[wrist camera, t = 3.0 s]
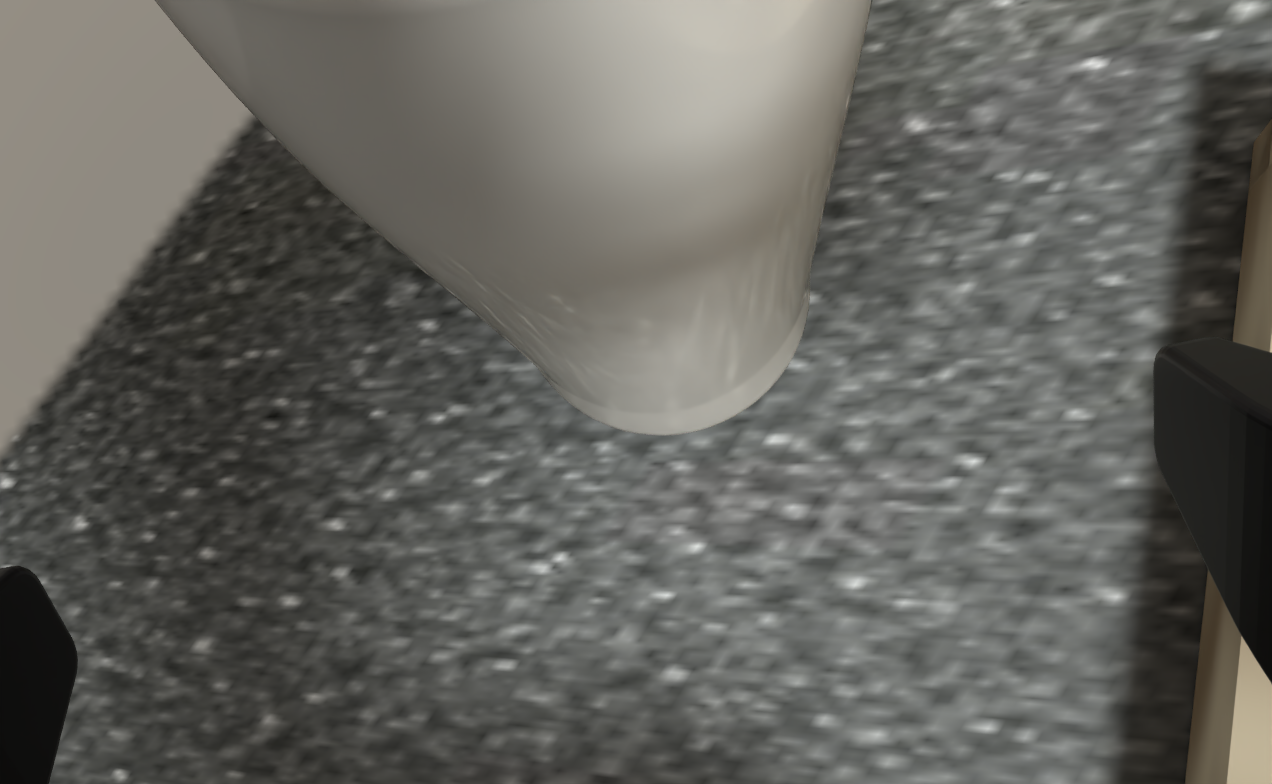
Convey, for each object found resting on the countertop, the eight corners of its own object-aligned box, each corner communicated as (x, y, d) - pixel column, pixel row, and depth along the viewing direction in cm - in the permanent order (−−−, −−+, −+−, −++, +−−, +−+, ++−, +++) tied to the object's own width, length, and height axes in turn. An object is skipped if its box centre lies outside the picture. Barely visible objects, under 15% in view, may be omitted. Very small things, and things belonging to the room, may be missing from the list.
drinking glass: (455, 212, 24) (-73, -561, 10) (778, 99, 24) (728, -878, 9) (549, 532, 22) (52, 154, 8) (902, 412, 22) (1087, -221, 7)
